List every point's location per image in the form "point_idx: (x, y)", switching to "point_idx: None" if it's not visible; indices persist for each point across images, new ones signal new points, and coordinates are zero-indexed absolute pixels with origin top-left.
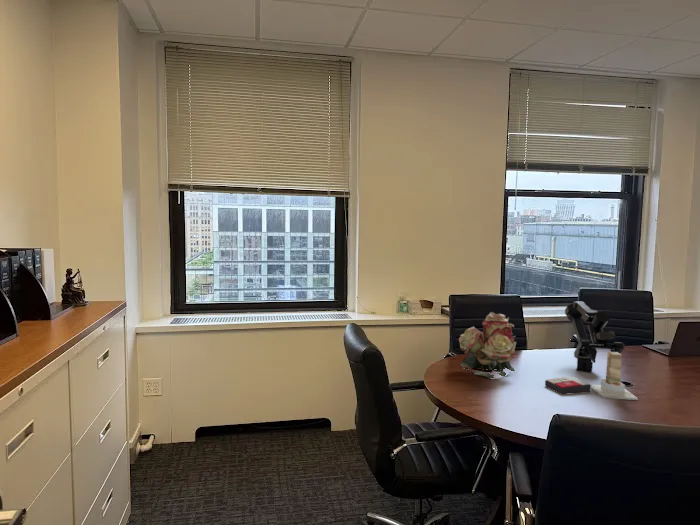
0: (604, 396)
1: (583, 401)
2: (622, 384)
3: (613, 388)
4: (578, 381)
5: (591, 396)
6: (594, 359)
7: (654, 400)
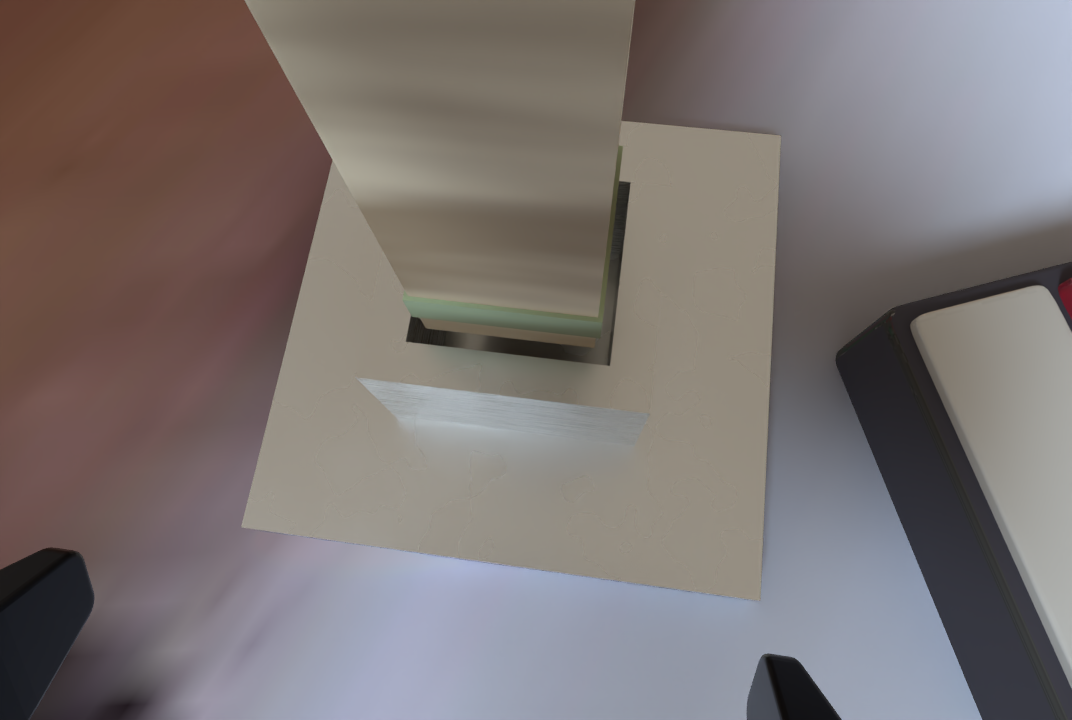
0: (746, 139)
1: (1062, 31)
2: None
3: None
4: (1064, 433)
5: (892, 189)
6: (808, 718)
7: (146, 128)
